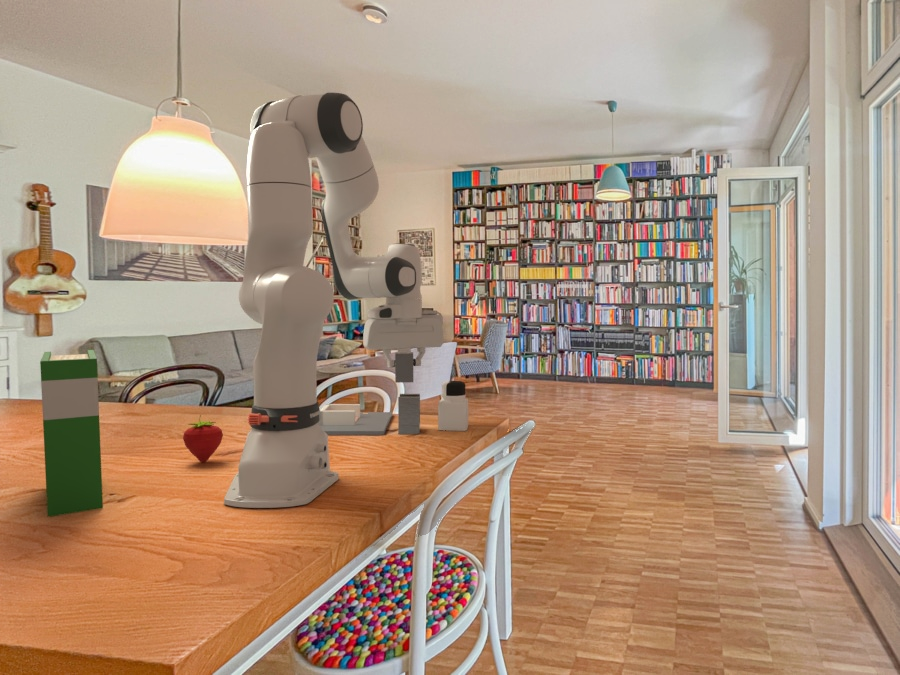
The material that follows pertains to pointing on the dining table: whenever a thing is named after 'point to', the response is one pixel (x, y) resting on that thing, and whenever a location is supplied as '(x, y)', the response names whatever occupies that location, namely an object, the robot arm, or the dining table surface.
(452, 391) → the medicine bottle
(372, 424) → the end holder
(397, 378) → the connector plug
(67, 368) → the hardback book
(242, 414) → the dining table surface
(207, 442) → the strawberry
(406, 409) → the dark grey upright block
